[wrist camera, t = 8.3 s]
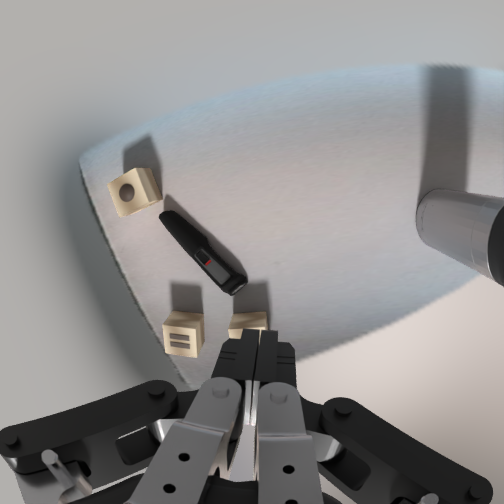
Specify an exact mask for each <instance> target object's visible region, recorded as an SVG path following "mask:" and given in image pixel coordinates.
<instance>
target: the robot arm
mask: <svg viewBox="0 0 504 504" xmlns="http://www.w3.org/2000/svg"><path fill="white" fill-rule="evenodd" d="M416 225H417V230H418V233H419V236H420V237H421V239H422V240H423V242H424V243H425V244H427V245H428V246H430V247H432V248H434V249H436V250H438V251H440V252H441V253H443V254H445V255H447V256H449V257H451V258H453V259H455V260H457V261H459V262H461V263H462V264H464V265H466V266H468V267H470V268H472V269H474V270H475V271H477V272H479V273H481V274H483V275H484V276H486V277H488V278H490V279H492V280H493V281H495V282H497V283H498V284H500V285H502V286H504V198H502V197H495V196H489V195H482V194H475V193H468V192H460V191H453V190H444V189H436V190H433V191H431V192H429V193H428V194H426V196H425V197H424V198H423V199H422V201H421V202H420V204H419V207H418V210H417V215H416ZM259 339H260V342H259ZM251 410H252V418H251V425H256V426H255V438H254V469H253V481H245V482H233V481H229V480H228V479H229V475H230V472H231V468H232V465H233V462H234V458H235V455H236V452H237V448H238V445H239V441H240V435H241V433H242V429H243V424H245V425H249V423H250V416H251ZM144 426H146V428H144V429H141V430H139V431H137V432H134V433H132V434H130V435H127V436H125V437H123V438H120V439H118V438H119V437H121V436H123V435H125V434H128V433H130V432H133V431H135V430H137V429H140V428H141V427H144ZM0 454H1V456H2V457H3V458H4V459H5V461H6V462H7V463H8V464H9V466H10V468H11V469H12V470H13V471H14V473H15V475H16V479H17V482H18V485H19V488H20V491H21V493H22V496H23V499H24V501H25V504H342V503H341V502H340V501H338V500H337V499H335V498H334V497H332V496H330V495H328V494H326V493H323V492H322V490H321V484H320V478H319V473H320V474H321V475H323V476H324V477H325V478H326V479H327V480H328V481H330V482H331V483H332V484H333V485H334V486H336V487H337V488H338V489H339V490H341V491H342V492H343V493H344V494H345V495H347V496H348V497H349V498H351V499H352V500H353V501H354V502H356V503H357V504H489V503H490V502H491V500H492V496H493V488H492V486H491V484H490V482H489V481H488V480H487V479H486V478H484V477H482V476H480V475H478V474H476V473H474V472H472V471H470V470H469V469H466V468H465V467H463V466H461V465H459V464H457V463H455V462H454V461H452V460H450V459H448V458H446V457H444V456H443V455H441V454H439V453H438V452H436V451H434V450H432V449H431V448H429V447H427V446H425V445H424V444H422V443H420V442H419V441H417V440H415V439H414V438H412V437H410V436H409V435H407V434H405V433H404V432H402V431H400V430H399V429H397V428H396V427H394V426H393V425H391V424H390V423H388V422H386V421H385V420H383V419H382V418H380V417H379V416H377V415H375V414H374V413H372V412H371V411H369V410H368V409H366V408H365V407H363V406H362V405H360V404H359V403H357V402H356V401H354V400H352V399H349V398H342V397H338V398H333V399H330V400H328V401H327V402H325V403H324V405H321V404H316V403H313V402H310V401H307V400H306V399H304V398H303V397H302V396H301V395H300V394H299V392H298V390H297V385H296V365H295V349H294V348H293V347H292V345H291V344H290V343H287V342H278V331H274V330H261V335H260V329H248V328H243V331H242V334H241V338H240V339H235V338H229V339H228V340H227V341H226V342H225V343H223V345H222V348H221V351H220V354H219V357H218V359H217V362H216V365H215V368H214V371H213V374H212V376H211V379H208V380H206V381H205V382H204V383H203V384H202V385H201V387H200V389H199V390H195V391H188V392H177V390H176V388H175V387H174V385H172V384H171V383H169V382H167V381H163V380H152V381H148V382H145V383H143V384H140V385H138V386H135V387H132V388H130V389H127V390H124V391H122V392H119V393H116V394H114V395H111V396H108V397H105V398H102V399H100V400H97V401H94V402H91V403H88V404H85V405H82V406H79V407H76V408H73V409H69V410H66V411H63V412H60V413H57V414H53V415H50V416H46V417H43V418H39V419H36V420H32V421H28V422H24V423H21V424H17V425H12V426H8V427H6V428H4V429H2V430H1V431H0ZM146 467H148V468H147V470H146V472H145V473H142V474H139V475H136V476H133V477H130V478H128V479H126V480H124V481H122V482H120V483H117V484H115V485H113V486H111V487H108V488H106V489H104V490H101V491H99V492H97V493H94V494H92V490H93V489H95V488H98V487H101V486H104V485H106V484H109V483H111V482H114V481H116V480H119V479H121V478H124V477H126V476H128V475H131V474H133V473H135V472H137V471H139V470H142V469H144V468H146Z"/></svg>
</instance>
